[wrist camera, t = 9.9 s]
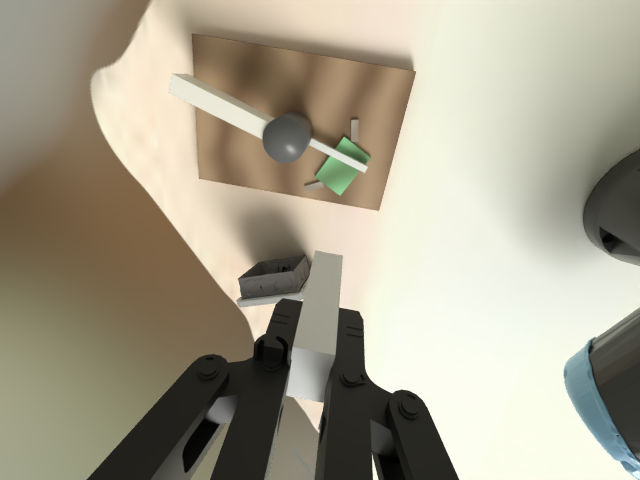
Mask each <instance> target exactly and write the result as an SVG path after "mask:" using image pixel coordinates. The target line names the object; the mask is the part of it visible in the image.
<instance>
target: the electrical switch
mask: <svg viewBox="0 0 640 480" xmlns="http://www.w3.org/2000/svg"><path fill="white" fill-rule="evenodd" d="M269 263H270V264H269ZM289 264H290V265H289ZM289 266H290V268H289ZM278 267H279V271H278ZM282 267H286V268H287V270H288V272H282ZM290 269H291V270H290ZM278 272H279V273H278ZM309 275H310V270H309V265H308V263H307V258H306V256H299V257H292V258H286V259H279V260H272V261H266V262H260V265H259V263H257V264H256V265H255V266H254V267H252V268H251V269H250V270H248V271H247V272H246V273H245V274H243V275H242V276H241V277H240V278H238V280H239V284H240V292H241V296H242V297H240V298H239V299H237V300H236V301H237V303H238V306H239V307H247V306H256V305H264V304H272V303H278V302H279V301H280V300H281V299H282V298H286V299H291V300H301V299H304V296H305V292H306V288H307V283H308V279H309Z"/></svg>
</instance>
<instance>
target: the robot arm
mask: <svg viewBox="0 0 640 480" xmlns="http://www.w3.org/2000/svg"><path fill="white" fill-rule="evenodd" d="M583 221H584V229H585V232H586V234H587V236H588V238H589V239H590V241H591V242H592V243H593V244H594V245H595V246H597V247H598V248H600V249H601V250H602V251H604V252H605V253H607V254H608V255H610V256H612V257H614V258H616V259H618V260H621V261H624V262H627V263H631V264H634V265H638V266H640V150H638V151H636V152H635V153H633V154H631V155H630V156H628V157H626V158H625V159H624V160H622V161H621V162H619V163H618V164H617V165H616V166H614V167H613V168H612V169H611V170H610V171H609V172H608V173H607V174H606V175H605V176H604V177H603V178H602V179H601V180H600V182H599V183H598V184H597V186H596V187H595V188H594V190H593V192H592V193H591V195H590V197H589V199H588V201H587V204H586V207H585V211H584V219H583ZM342 259H343V256H342V255H336V254H331V253H325V252H320V251H315V254H314V258H313V262H312V266H311V271H310V275H309V279H308V283H307V288H306V292H305V296H304V300H303V302H302V301H297V300H291V299H286V298H282V299H281V300H280V301H279V302H278V303H277V304H276V305H275V308H274V311H273V314H272V317H271V319H270V322H269V325H268V328H267V331H266V334H264V335H262V336H261V337H259V338H258V339H257V340H256V342H255V343H254V356H253V357H252V358H250V359H248V360H245V361H240V362H231V363H228V362H227V361H226V359H224V358H223V357H222V356H219V355H214V354H211V355H205V356H202V357H200V358H198V359H197V360H196V361H194V362H193V363H192V364H191V365H190V366H189V367H188V368H187V370H186V371H185V372H184V373H183V374H182V375H181V376H180V377H179V378H178V379H177V381H176V382H175V383H174V384H173V385H172V386H171V387H170V388H169V389H168V391H167V392H166V393H165V394H164V395H163V396H162V397H161V398H160V399H159V401H158V402H157V403H156V404H155V405H154V406H153V407H152V408H151V409H150V410H149V411H148V413H147V414H146V415H145V416H144V417H143V418H142V419H141V420H140V422H139V423H138V424H137V425H136V426H135V427H134V428H133V429H132V430H131V431H130V432H129V434H128V435H127V436H126V437H125V438H124V439H123V440H122V442H120V444H119V445H118V446H117V447H116V448H115V449H114V450H113V451H112V452H111V453H110V455H109V456H108V457H107V458H106V459H105V460H104V461H103V462H102V463H101V465H100V466H99V467H98V468H97V469H96V470H95V471H94V472H93V473H92V474H91V476H90V477H89V478H88V479H87V480H190V478H191V477H192V476H193V473H194V472H195V471H196V469H197V467H198V466H199V464H200V463H201V461H202V460H203V458H204V457H205V455H206V454H207V452H208V450H209V449H210V447H211V446H212V444H213V443H214V441H215V440H216V438H217V436H218V435H219V433H220V432H221V430H222V429H223V427H224V425H225V424H226V423H227V422H231V423H230V426H229V429H228V432H227V434H226V437H225V440H224V443H223V445H222V448H221V451H220V454H219V456H218V459H217V462H216V465H215V467H214V470H213V473H212V476H211V479H210V480H268V478H269V473H270V469H271V464H272V459H273V455H274V450H275V445H276V441H277V436H278V431H279V426H280V422H281V417H282V413H283V407H284V401H285V397H286V396H291V397H296V398H301V399H306V400H312V401H317V402H322V403H323V402H324V406H323V412H322V416H321V420H320V424H319V427H318V429H320V432H319V442H318V451H317V461H316V470H315V480H373V472H372V455H373V459H374V463H375V467H376V471H377V475H378V479H379V480H459V478H458V476H457V474H456V472H455V469H454V467H453V465H452V463H451V460H450V458H449V456H448V454H447V451H446V449H445V447H444V445H443V442H442V440H441V438H440V435H439V433H438V431H437V429H436V426H435V424H434V422H433V420H432V417H431V415H430V413H429V411H428V408H427V407H426V405H425V403H424V402H423V400H422V399H421V398H419V397H418V396H417V395H416V394H414V393H412V392H410V391H407V390H398V391H395V392H394V393H393V394H392V393H390V392H388V391H386V390H384V389H382V388H380V387H379V386H377V385H375V384H374V383H373V382H372V381H371V380H370V378H369V377H368V375H367V373H366V370H365V357H364V331H363V330H364V325H363V319H362V317H361V315H360V313H359V311H354V310H349V309H343V308H339V300H340V286H341V273H342ZM564 379H565V386H566V390H567V392H568V395H569V397H570V399H571V401H572V403H573V405H574V407H575V409H576V411H577V412H578V414H579V416H580V417H581V419H582V420H583V422H584V423H585V425H586V426H587V428H588V429H589V430H590V432H591V433H592V434H593V436H594V437H595V438H596V439H597V441H598V442H599V443H600V444H601V446H602V447H603V448H604V449H605V450H606V451H607V452H608V453H609V454H610V455H611V456H612V457H613V458H614V459H615V460H617V461H620V462H621V464H622V465H623V467H624V468H625V470H626V471H627V472H629V473H630V474H631V475H632V476H634V477H635V478H636V479H638V480H640V308H638V309H637V310H635V311H634V312H632V313H631V314H630V315H628V316H627V317H625V318H624V319H623V320H621V321H620V322H618V323H617V324H616V325H614V326H613V327H611V328H610V329H609V330H607V331H606V332H604V333H603V334H601V335H600V336H598V337H597V338H596V337H594V338H592V339H591V340H589V341H588V342H587V344H586V345H585V347H584V348H582V349H581V350H580V351H579V352H578V353H576V354H575V355H574V356H573V357H571V358H570V359H569V360H568V361H567V363H566V365H565V367H564Z"/></svg>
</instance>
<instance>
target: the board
mask: <svg viewBox="0 0 640 480" xmlns="http://www.w3.org/2000/svg"><path fill="white" fill-rule="evenodd" d="M192 45H193V65H194V78H196V79H198V80H200V81H202V82H204V83H206V84H208V85H210V86H212V87H214V88H216V89H218V90H220V91H222V92H224V93H226V94H228V95H230V96H232V97H234V98H236V99H238V100H240V101H242V102H244V103H246V104H248V105H250V106H251V107H253V108H255V109H257V110H259V111H261V112H263V113H265V114H267V115H269V116H271V117H273V118H275V119H276V118H278V117H280V116H282V115H283V114H285V113H288V112H292V111H296V112H300V113H302V114H304V115H305V116H306V117H307V118H308V119H309V120H310V122H311V124H312V127H313V138H314V139H316V140H318V141H320V142H322V143H324V144H326V145H328V146H330V147H332V148H334V149H336V150H338V151H340V152H342V153H344V154H346V155H348V156H350V157H352V158H354V159H356V160H358V161H359V162H361V163H363V164H365V165H367V166H368V168H367V170H366V172H365V173H364V172H362V171H360V170H358V169H356V168H354V167H352V166H350V165H348V164H346V163H344V162H342V161H340V160H338V159H336V158H334V157H332V156H330V155H328V154H326V153H324V152H322V151H320V150H318V149H316V148H314V147H312V146H310V145H308V147H307V148H306V150H305V151H304V153H303V154H302V155H301V157H300V158H299V159H297V160H296V161H294V162H291V163H280V162H277V161H275V160H274V159H272V158H271V157H270V156H269V155H268V154H267V152H266V151H265V149H264V146H263V141H262V139H260V138H258V137H256V136H254V135H252V134H250V133H248V132H246V131H244V130H242V129H240V128H238V127H236V126H234V125H232V124H230V123H228V122H226V121H224V120H222V119H220V118H218V117H216V116H214V115H212V114H210V113H208V112H206V111H204V110H202V109H200V108H198V107H196V125H197V145H198V165H199V179H204V180H210V181H215V182H221V183H226V184H232V185H238V186H243V187H249V188H254V189H260V190H265V191H271V192H277V193H282V194H288V195H293V196H299V197H305V198H310V199H316V200H321V201H327V202H332V203H338V204H344V205H349V206H355V207H360V208H366V209H372V210H377V211H379V209H380V205H381V201H382V197H383V194H384V190H385V186H386V183H387V179H388V175H389V171H390V168H391V164H392V160H393V156H394V153H395V149H396V145H397V141H398V138H399V134H400V130H401V126H402V123H403V119H404V115H405V111H406V108H407V104H408V100H409V96H410V93H411V89H412V85H413V81H414V78H415V74H416V71H410V70H404V69H398V68H392V67H387V66H381V65H375V64H369V63H363V62H357V61H351V60H345V59H339V58H334V57H328V56H322V55H316V54H310V53H304V52H298V51H292V50H286V49H281V48H275V47H269V46H263V45H257V44H251V43H245V42H239V41H234V40H228V39H222V38H216V37H210V36H204V35H198V34H192Z"/></svg>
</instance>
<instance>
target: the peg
mask: <svg viewBox="0 0 640 480" xmlns="http://www.w3.org/2000/svg"><path fill="white" fill-rule="evenodd" d="M168 93H170V94H172V95H174V96H176V97H178V98H180V99H182V100H184V101H186V102H188V103H190V104H192V105H194V106H196V107H198V108H200V109H202V110H204V111H206V112H208V113H210V114H212V115H214V116H216V117H218V118H220V119H222V120H224V121H226V122H228V123H230V124H232V125H234V126H236V127H238V128H240V129H242V130H244V131H246V132H248V133H250V134H252V135H254V136H256V137H258V138H260V139H262V141H263V146H264V149H265V151H266V152H267V154H268V155H269V156H270V157H271V158H272V159H274V160H275V161H277V162H280V163H291V162H294V161H296V160H297V159H299V158H300V157H301V155H302V154H303V153H304V151H305V150H306V148H307V147H308V145H310V146H312V147H314V148H316V149H318V150H320V151H322V152H324V153H326V154H328V155H330V156H332V157H334V158H336V159H338V160H340V161H342V162H344V163H346V164H348V165H350V166H352V167H354V168H356V169H358V170H360V171H362V172H364V173H365V172H366V170H367V168H368V166H367V165H365V164H363V163H361V162H359V161H358V160H356V159H354V158H352V157H350V156H348V155H346V154H344V153H342V152H340V151H338V150H336V149H334V148H332V147H330V146H328V145H326V144H324V143H322V142H320V141H318V140H316V139H314V138H313V127H312V124H311V122H310V120H309V119H308V118H307V117H306V116H305V115H304V114H302V113H300V112H296V111H292V112H288V113H285V114H283V115H282V116H280V117H278V118H276V119H275V118H273V117H271V116H269V115H267V114H265V113H263V112H261V111H259V110H257V109H255V108H253V107H251V106H250V105H248V104H246V103H244V102H242V101H240V100H238V99H236V98H234V97H232V96H230V95H228V94H226V93H224V92H222V91H220V90H218V89H216V88H214V87H212V86H210V85H208V84H206V83H204V82H202V81H200V80H198V79H196V78H194V77H192V76H190V75H188V74H172V75H171V81H170V86H169V92H168Z"/></svg>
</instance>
